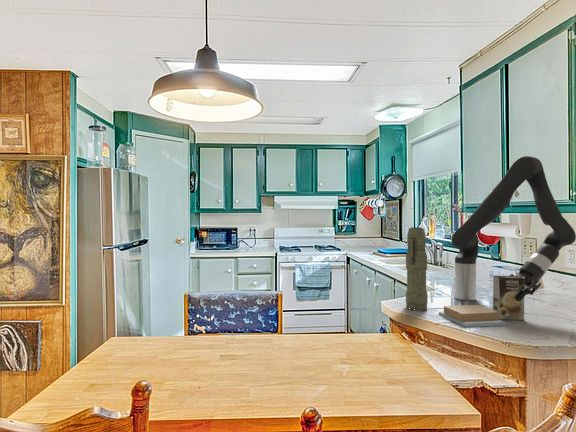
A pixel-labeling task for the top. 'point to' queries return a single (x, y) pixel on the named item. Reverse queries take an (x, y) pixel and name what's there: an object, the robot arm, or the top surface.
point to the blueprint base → (472, 315)
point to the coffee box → (508, 297)
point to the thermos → (416, 269)
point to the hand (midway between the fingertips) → (509, 297)
